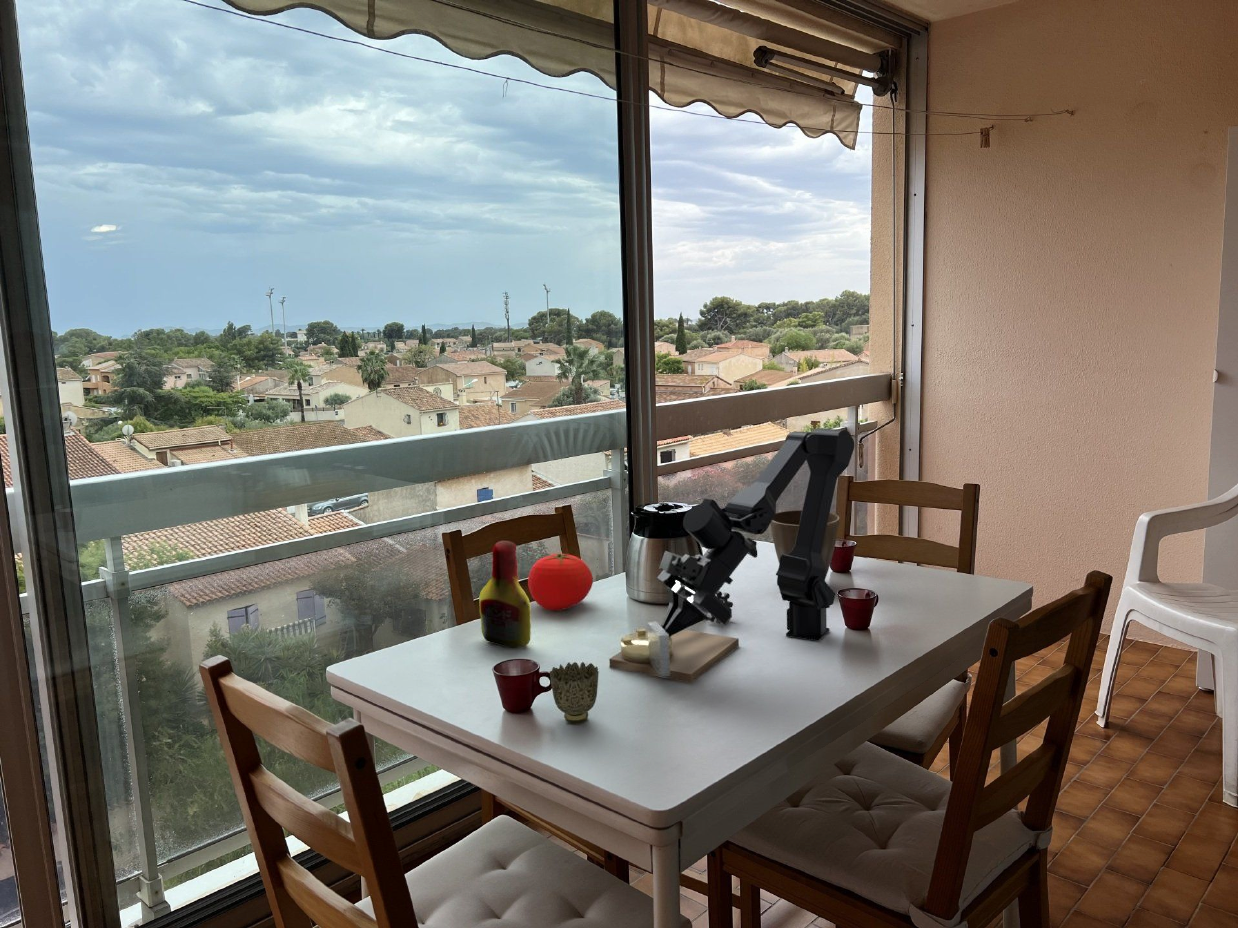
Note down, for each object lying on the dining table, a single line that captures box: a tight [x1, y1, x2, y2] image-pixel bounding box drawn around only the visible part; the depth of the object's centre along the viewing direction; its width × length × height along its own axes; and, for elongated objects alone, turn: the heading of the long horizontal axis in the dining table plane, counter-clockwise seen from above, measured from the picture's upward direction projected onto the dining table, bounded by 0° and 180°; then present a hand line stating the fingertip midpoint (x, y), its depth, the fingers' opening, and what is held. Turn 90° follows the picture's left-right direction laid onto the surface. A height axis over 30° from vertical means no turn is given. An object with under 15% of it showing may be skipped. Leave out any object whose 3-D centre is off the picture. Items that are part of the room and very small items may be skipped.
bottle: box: [478, 540, 532, 649], centre depth 171 cm, size 12×6×20 cm, turn 48°
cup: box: [549, 661, 600, 725], centre depth 137 cm, size 8×7×8 cm
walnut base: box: [608, 629, 740, 684], centre depth 162 cm, size 16×19×2 cm
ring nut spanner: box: [620, 621, 672, 676], centre depth 156 cm, size 16×9×7 cm, turn 14°
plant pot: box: [770, 509, 840, 579], centre depth 199 cm, size 15×15×16 cm
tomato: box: [527, 553, 594, 611], centre depth 193 cm, size 13×14×12 cm
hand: (662, 635), depth 153 cm, fingers closed, pressing on ring nut spanner
